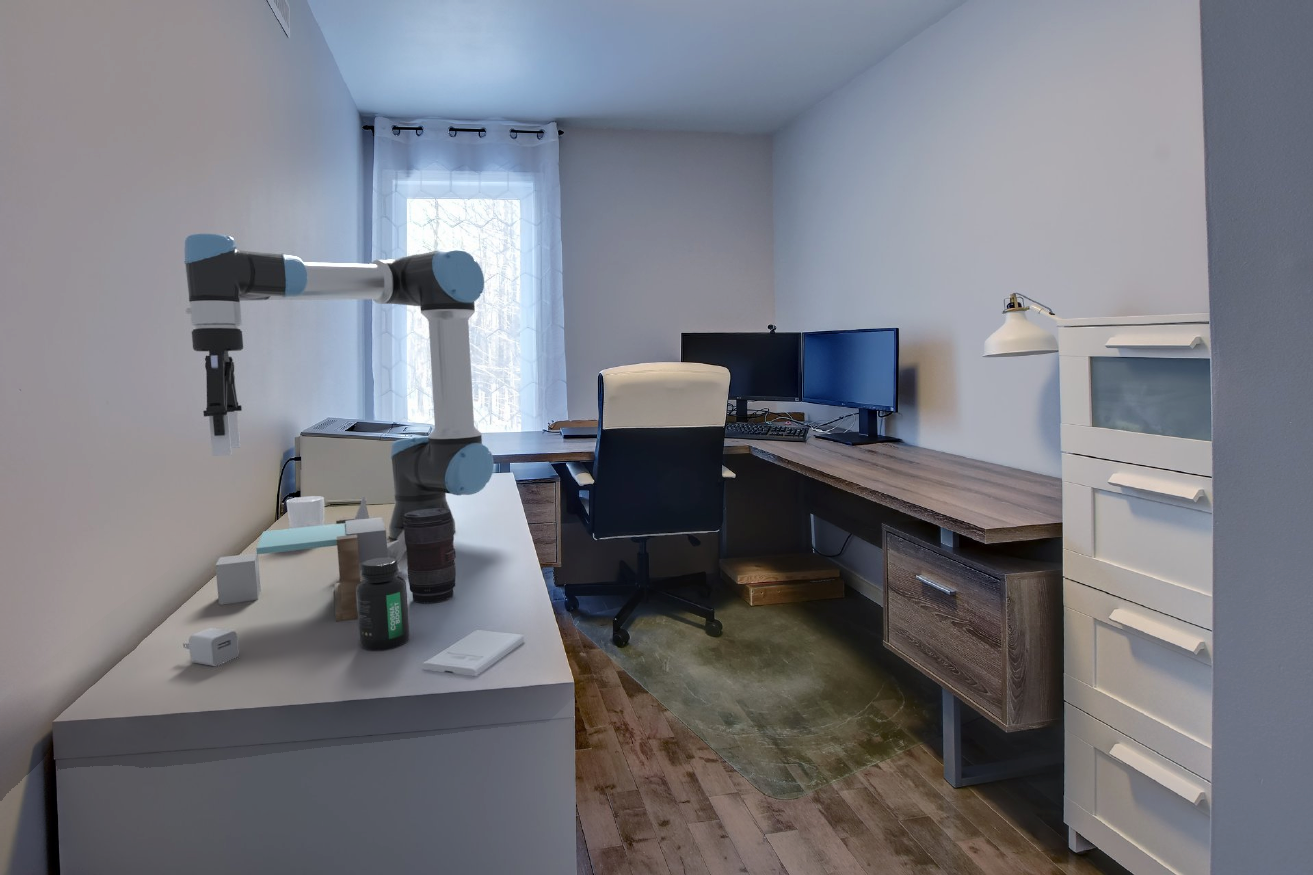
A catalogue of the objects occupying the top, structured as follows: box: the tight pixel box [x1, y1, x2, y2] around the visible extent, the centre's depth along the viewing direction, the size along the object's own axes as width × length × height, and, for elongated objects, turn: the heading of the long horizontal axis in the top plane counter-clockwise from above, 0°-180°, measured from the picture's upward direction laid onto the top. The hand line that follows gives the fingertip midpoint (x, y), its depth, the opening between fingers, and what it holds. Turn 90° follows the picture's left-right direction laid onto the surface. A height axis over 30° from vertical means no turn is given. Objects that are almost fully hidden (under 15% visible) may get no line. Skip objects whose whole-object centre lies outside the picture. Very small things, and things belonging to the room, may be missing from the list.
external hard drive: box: [422, 629, 525, 677], centre depth 106 cm, size 2×8×12 cm
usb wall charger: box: [182, 627, 240, 667], centre depth 107 cm, size 4×7×4 cm, turn 67°
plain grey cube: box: [215, 552, 262, 606], centre depth 136 cm, size 6×6×7 cm
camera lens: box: [404, 508, 457, 604], centre depth 132 cm, size 8×8×15 cm
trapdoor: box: [255, 516, 388, 563], centre depth 129 cm, size 19×13×5 cm
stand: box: [334, 516, 364, 622], centre depth 130 cm, size 5×19×13 cm, turn 23°
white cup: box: [286, 495, 325, 529], centre depth 178 cm, size 8×8×10 cm
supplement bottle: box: [356, 558, 410, 651], centre depth 111 cm, size 7×7×12 cm
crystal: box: [354, 496, 407, 580], centre depth 150 cm, size 10×13×15 cm
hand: (227, 451), depth 133 cm, fingers open, 13 cm apart
